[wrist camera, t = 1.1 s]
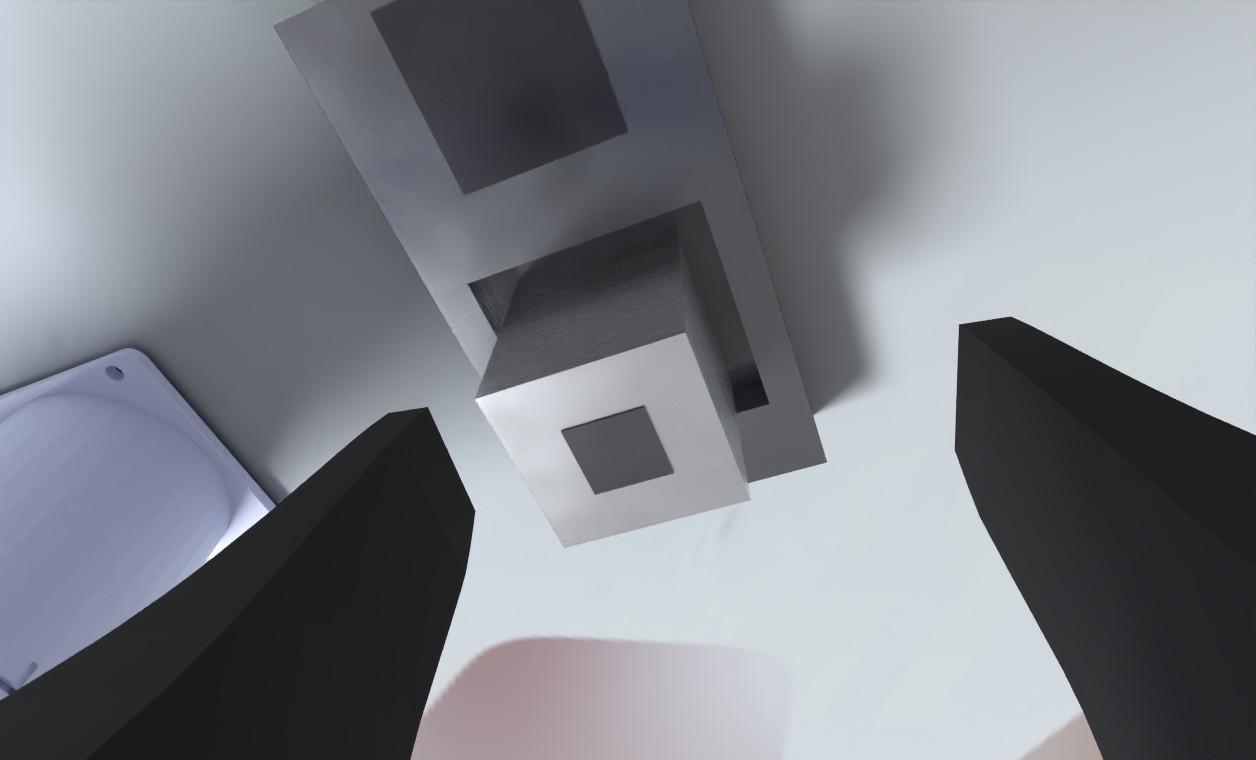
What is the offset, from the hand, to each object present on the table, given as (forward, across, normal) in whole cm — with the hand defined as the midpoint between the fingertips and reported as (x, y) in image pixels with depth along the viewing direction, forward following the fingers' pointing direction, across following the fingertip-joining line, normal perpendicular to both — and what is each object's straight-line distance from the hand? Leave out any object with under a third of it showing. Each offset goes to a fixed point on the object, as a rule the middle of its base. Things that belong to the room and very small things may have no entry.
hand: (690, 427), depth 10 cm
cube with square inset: (+9, +2, +3) cm, 10 cm away
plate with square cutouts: (+10, +2, +1) cm, 10 cm away
